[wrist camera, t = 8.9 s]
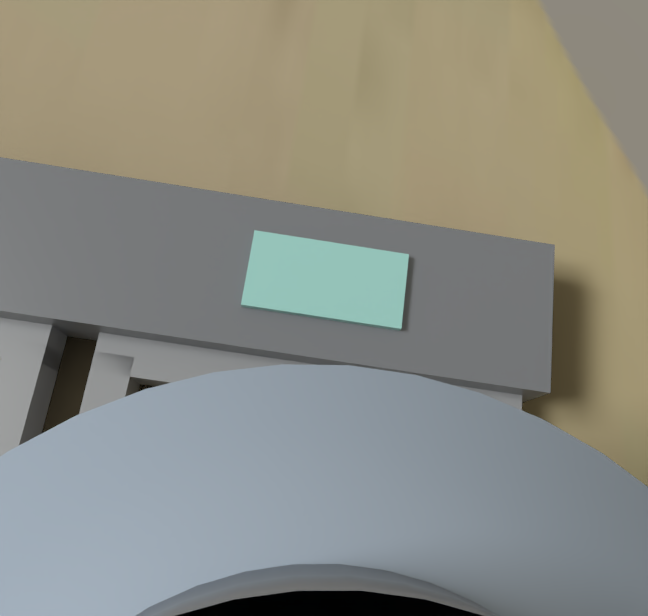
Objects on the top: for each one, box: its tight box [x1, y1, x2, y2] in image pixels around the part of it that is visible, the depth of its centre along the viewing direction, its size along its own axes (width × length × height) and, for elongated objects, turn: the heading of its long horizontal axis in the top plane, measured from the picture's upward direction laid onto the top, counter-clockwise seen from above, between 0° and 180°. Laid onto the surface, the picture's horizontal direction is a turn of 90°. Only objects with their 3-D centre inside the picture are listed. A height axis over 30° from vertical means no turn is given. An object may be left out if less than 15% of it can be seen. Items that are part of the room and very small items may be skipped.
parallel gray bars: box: [0, 157, 555, 456], centre depth 15 cm, size 24×14×2 cm, turn 82°
